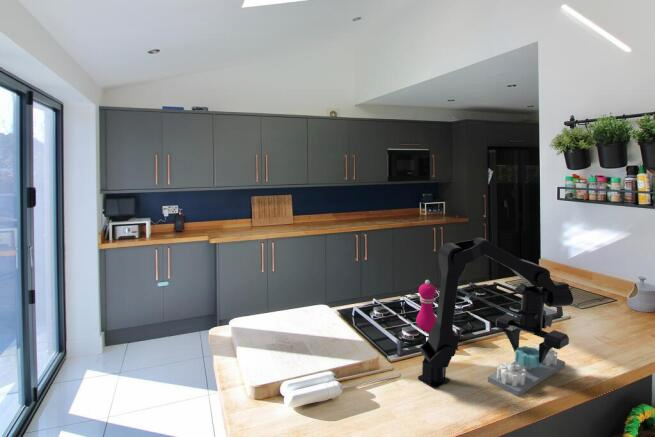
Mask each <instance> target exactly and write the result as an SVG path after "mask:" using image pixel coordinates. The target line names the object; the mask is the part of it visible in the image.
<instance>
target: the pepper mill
mask: <svg viewBox="0 0 655 437" xmlns="http://www.w3.org/2000/svg"><path fill="white" fill-rule="evenodd" d="M418 294H419V301H420V309H419V312H418V313H417V316H416V320H415V322H416V325H417V327H419V328H421V329H422V330H424V331H426V332H429V333H430V331H431V329H432V327H433V326H434V324H435V323H436V317H437V315H436V314H435V313H434V309H433V307H434V306H433V305H434V303H435V296H436V294H437V289H436V287H435V286H434V285H433V284H431V281H430V280H429V279H426V280H425V281H424V283H422V284H421V285H420V286H419V288H418Z"/></svg>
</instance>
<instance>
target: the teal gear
mask: <svg viewBox="0 0 655 437" xmlns="http://www.w3.org/2000/svg"><path fill="white" fill-rule="evenodd" d="M515 361H516V362H518V363H520V365H522V366H527V367H530V368H534V367H537V366H538V367H541V366H542V363H541V364H540V363H539V351H538V350H537V349H535V348H532V347H530V346H527V345H523V346H519V347H517V350H515V352H514V362H515Z"/></svg>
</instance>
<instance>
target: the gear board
mask: <svg viewBox="0 0 655 437" xmlns="http://www.w3.org/2000/svg"><path fill="white" fill-rule="evenodd" d="M531 348H535V349H537V350H538V351H539V344H538V345H532V346H531ZM565 366H566V361H564V360H562V359H559V358H558V351H557V350H556V349H554V348H551V349H550V350H549V352H548V353H547V355H546V357H545V359H544V361H543V362H542V366H541V367H538V366H537V367H534V368H530V367H527V366H522V365H520V363H518V362H516V361H515V360H514V361H513V362H512V363H511V362H505V363H501V362H500V363H498V367H497V370H496V372H493V373H492V374H490V375H488V377H487V382H489V383H490V384H491V385H494V386H496V387H497V388H499V389H503V390H504V391H506V392H508V393H510V394H512V395H514V396H516V397H520V396H521V395H522V394H525V393H526V392H528V390H530V389H532V388H533V387H535V386H537V385H538V384H539V383H542V382H543V381H545V380H546V379H547V378H549V377H551V376H552V375H554V374H555V373H557V372H558V371H560V370H561V369H563V368H565Z"/></svg>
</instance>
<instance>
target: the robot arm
mask: <svg viewBox="0 0 655 437" xmlns="http://www.w3.org/2000/svg"><path fill="white" fill-rule="evenodd" d="M437 255H438V264H439V269H440V274H441V276H440V277H441V278H440V285H439V286H440V287H439V292H438V293H439V294H438V302H437V303H438V304H437V308H436V309H437V310H436V323H435V324H434V326H433V327H432V329H431V331H430V334H429V337H428V338H427V339H426V341H424V343H423V344H422V345H421V346H420V347H419V350H420V352H421V354H422V356H423V360H422V367H421V368H422V369H421V370H422V371H421V375H419V376H417V379H418V380H419V381H421V382H422V383H425V384H426V385H427V386H429V387H432V388H433V389H437V388H439V387H441V386H443V385H446V384H447V383H448V382H449V383H450V378H448V377H447V376H446V375H447V374H446V373H447V371H446V370H447V368H449V366H450V363H451V360H452V357H454V356H455V355H456V352H457V351H459V347H458V346H459V341H460V336H459V334H458V333H456V331H455V330H454V327H453V326H454V320H455V311H456V306H457V305H456V304H457V296H458V290H459V282H460V281H459V280H460V278H461V276H462V275H463V274H464V272H465V271H466V267H467V264H469V263H472V262H474V261H477V259H479V258H481V257H482V256H486V257H488V258H490V259H492V260H493V261H495V262H498V263H500V264H501V265H502V266H504V267H507V268H508V269H510V270H511V271H512V272H513V273H514V274H515V275H517V277H519V278H520V279H521V280H522V281H524V282H526V283H528V284H530V285H526V284H525V283H520V284H519V285H518V286H517V287H515V289H514V291H515V292H518V293H519V294H521V306H520V307H521V308H520V309H518V314H519V315H520V317H519V318H520V319H519V318H518V317H517V316H515V315H511V314H508V313H505V314H503V315H501V316H499V317H497V318H496V320H495V327H497V328H499V329H501V330H502V332H503V333H504V334H505V335H506V337H507V340H508V341H509V343H510V345H511V347H512V350H513V351H514V353H515V350H517V347H520V334H521V331H522V332H526V333H528V334H531V335H534V336H536V337H539V338H542V339H543V341H541V342H540V343H539V344H538V345H539V363H540V364H541V363H542V362H543V361H544V359H545V357H546V355H547V353H548V352H549V350H550V349H551V348H552V349H554V350H561V349H563V348H564V347H566V346H568V345H569V344H570V338H569V336H568V333H564V332H561V331H558V330H555V329H554V330H552V331H549V332H548V331H544V330H545V329H547V327H548V328H551V327H552V325H553V324H552V323H553V320H554V317H553V316H552V315H548V314H547V311H546V310H544V309H545V305H546V307H549V308H557V307H570V306H572V304H573V302H574V296H573V292H572V290H571V289H570V288H569V287H570V284H569V283H567V282H565V281H562V282H554V281H553V280H552V278H551V272H550V270H549V269H548V268H545V267H544V266H541V265H539V264H537V263H534V262H532V261H529V260H525V259H522V258H518V256H516V255H513V254H511V253H509V252H508V251H506V250H504V249H502V248H501V247H499V246H497V245H495V244H493V243H491V241H489V240H488V239H485V238H484V237H476V238H473V239H469V240H461V241H457V242H454V243H453V242H446V243H444V244H443V245H441V246H440V247H439V250H438V253H437Z"/></svg>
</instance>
